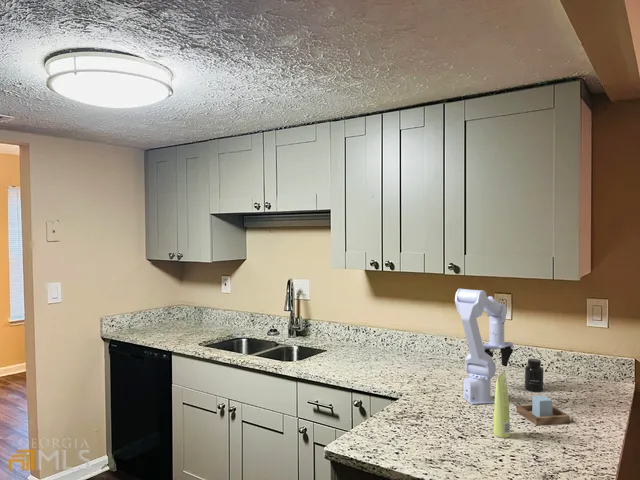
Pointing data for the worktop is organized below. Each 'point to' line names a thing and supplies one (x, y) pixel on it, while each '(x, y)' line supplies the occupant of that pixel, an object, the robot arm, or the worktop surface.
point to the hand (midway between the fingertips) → (496, 366)
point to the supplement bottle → (534, 376)
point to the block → (541, 406)
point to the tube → (501, 408)
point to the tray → (556, 417)
